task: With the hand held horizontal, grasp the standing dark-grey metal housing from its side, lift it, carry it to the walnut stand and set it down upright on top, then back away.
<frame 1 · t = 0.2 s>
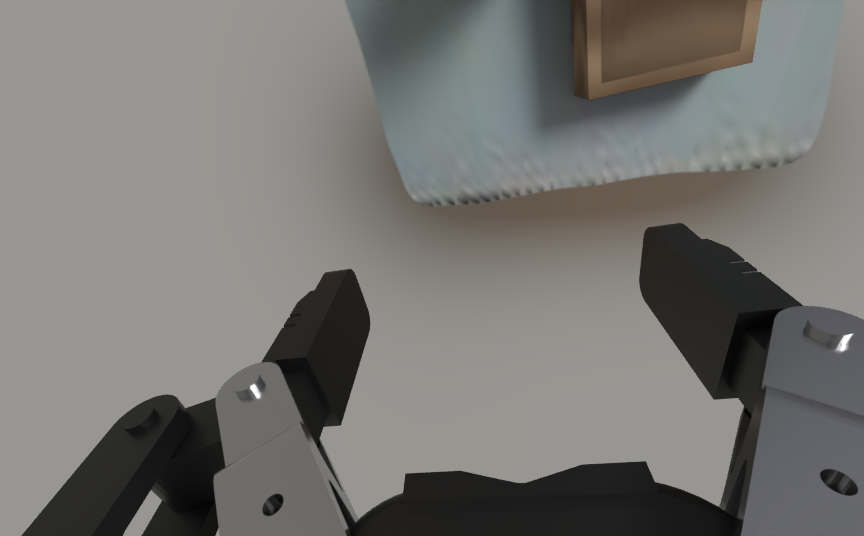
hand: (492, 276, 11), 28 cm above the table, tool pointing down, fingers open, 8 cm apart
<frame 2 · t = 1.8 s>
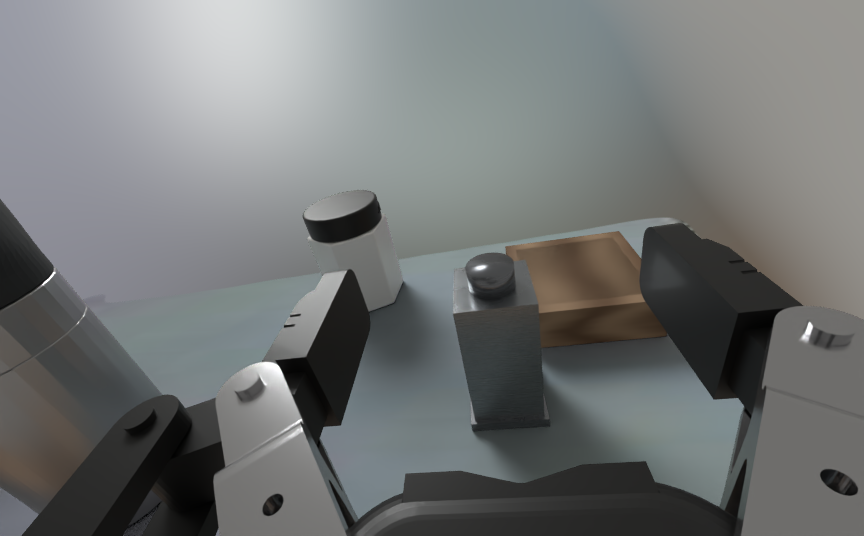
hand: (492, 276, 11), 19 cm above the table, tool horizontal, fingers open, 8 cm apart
stand: (574, 301, 38), on the table
jar: (370, 294, 47), on the table
housing: (506, 397, 30), on the table
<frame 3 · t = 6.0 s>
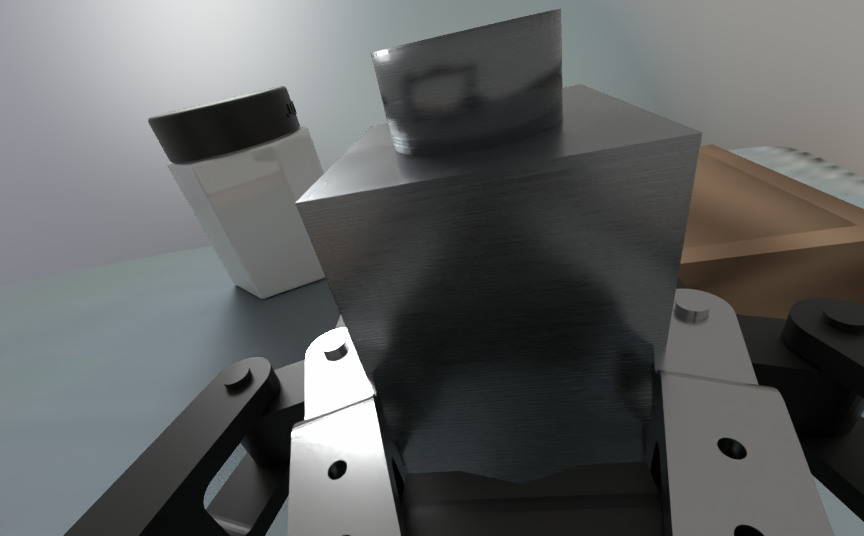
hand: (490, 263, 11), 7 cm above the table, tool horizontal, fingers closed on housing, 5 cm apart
stand: (641, 265, 20), on the table
jar: (295, 267, 29), on the table
housing: (520, 472, 12), on the table, touching gripper
when the fingers open (12 cm above the table, at t = 10.1 s): housing drops 1 cm, resting on stand.
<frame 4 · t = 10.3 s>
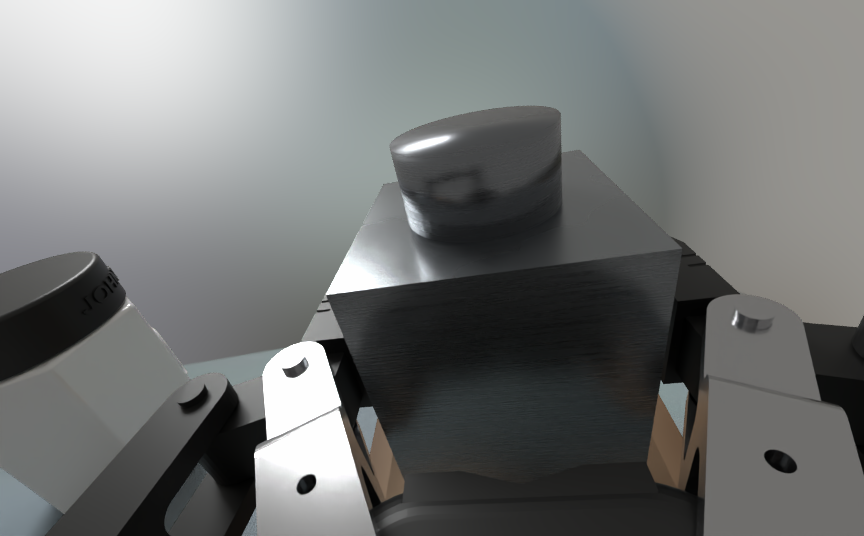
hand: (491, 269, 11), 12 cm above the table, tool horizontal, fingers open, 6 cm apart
jar: (146, 447, 24), on the table
housing: (522, 498, 13), point 4 cm above the table, touching stand
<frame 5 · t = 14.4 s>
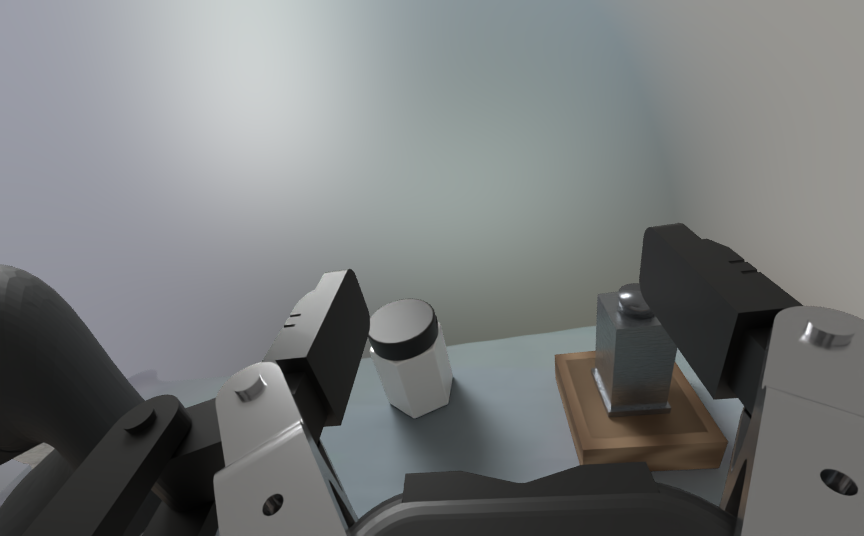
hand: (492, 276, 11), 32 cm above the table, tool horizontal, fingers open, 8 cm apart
decorative container: (129, 472, 47), on the table
stand: (625, 416, 40), on the table
jar: (422, 390, 49), on the table
housing: (627, 391, 38), point 4 cm above the table, touching stand
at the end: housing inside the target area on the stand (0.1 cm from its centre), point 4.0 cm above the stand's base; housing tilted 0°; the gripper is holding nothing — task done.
